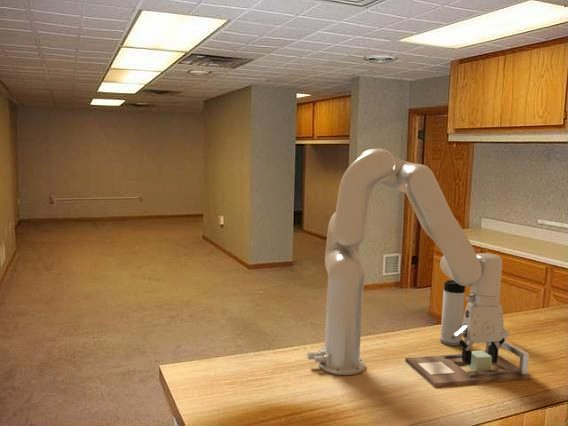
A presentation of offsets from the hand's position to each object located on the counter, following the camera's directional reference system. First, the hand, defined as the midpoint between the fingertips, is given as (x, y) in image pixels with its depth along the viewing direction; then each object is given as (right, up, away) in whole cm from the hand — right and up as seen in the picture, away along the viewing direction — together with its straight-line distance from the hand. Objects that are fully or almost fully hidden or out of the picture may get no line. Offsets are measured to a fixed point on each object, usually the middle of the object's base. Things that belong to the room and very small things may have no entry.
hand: (479, 361), depth 140 cm
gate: (+8, -1, +2) cm, 8 cm away
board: (-4, -2, -1) cm, 4 cm away
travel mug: (-1, 0, +19) cm, 19 cm away
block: (0, -2, 0) cm, 2 cm away
